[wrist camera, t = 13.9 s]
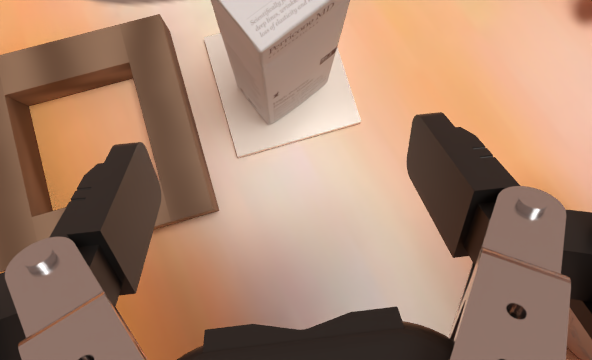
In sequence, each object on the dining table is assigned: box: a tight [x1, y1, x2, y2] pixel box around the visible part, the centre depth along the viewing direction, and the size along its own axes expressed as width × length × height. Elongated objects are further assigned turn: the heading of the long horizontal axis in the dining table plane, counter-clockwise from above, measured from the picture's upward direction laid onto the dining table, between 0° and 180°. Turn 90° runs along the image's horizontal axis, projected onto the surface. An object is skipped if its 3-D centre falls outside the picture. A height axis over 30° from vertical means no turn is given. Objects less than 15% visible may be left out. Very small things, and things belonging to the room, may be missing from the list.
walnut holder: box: [0, 14, 219, 272], centre depth 28 cm, size 15×15×2 cm
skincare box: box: [211, 0, 350, 124], centre depth 23 cm, size 6×4×12 cm
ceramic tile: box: [204, 33, 361, 158], centre depth 30 cm, size 10×10×1 cm
